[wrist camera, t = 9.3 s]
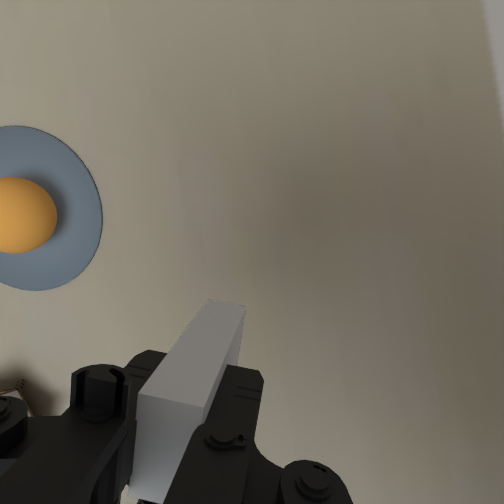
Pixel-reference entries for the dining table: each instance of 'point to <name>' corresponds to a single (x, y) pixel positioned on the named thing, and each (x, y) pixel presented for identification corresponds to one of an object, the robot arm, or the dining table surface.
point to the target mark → (67, 205)
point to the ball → (24, 215)
